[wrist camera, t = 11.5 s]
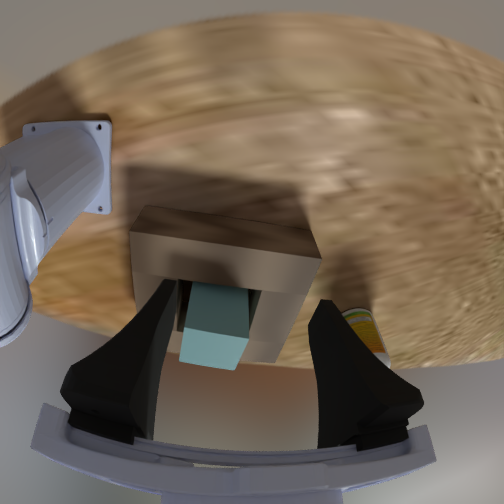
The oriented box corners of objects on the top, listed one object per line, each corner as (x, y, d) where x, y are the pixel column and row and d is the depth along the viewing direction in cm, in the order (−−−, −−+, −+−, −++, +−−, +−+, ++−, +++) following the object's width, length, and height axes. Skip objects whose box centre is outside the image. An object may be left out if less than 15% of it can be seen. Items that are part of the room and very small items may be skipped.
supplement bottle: (321, 323, 31) (338, 399, 23) (360, 299, 29) (389, 374, 21) (342, 341, 33) (360, 408, 25) (378, 320, 31) (404, 387, 23)
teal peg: (190, 293, 27) (178, 361, 21) (197, 257, 25) (184, 327, 18) (235, 302, 28) (234, 370, 22) (247, 268, 26) (249, 338, 19)
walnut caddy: (150, 318, 29) (142, 346, 26) (145, 205, 22) (129, 231, 18) (271, 334, 31) (274, 363, 28) (311, 230, 23) (322, 259, 20)
